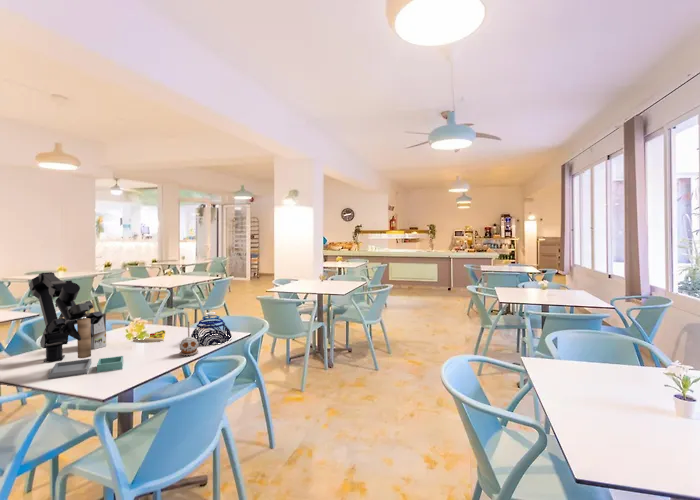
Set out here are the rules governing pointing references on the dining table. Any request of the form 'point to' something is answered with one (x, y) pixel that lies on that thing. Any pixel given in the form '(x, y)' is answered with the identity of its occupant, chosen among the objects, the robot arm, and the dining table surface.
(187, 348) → the decorative ornament
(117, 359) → the teal square frame
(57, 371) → the tray
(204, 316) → the decorative bowl
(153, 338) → the pizza slice
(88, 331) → the brown tall rounded cylinder
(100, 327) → the coffee box
